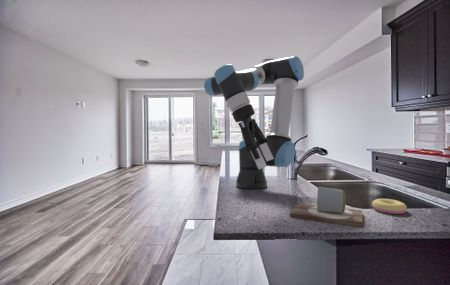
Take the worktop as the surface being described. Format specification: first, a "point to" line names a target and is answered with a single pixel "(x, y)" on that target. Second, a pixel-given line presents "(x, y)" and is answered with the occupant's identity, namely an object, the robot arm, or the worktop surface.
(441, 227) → the worktop surface
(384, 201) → the donut
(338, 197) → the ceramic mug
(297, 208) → the walnut board
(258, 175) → the robot arm
